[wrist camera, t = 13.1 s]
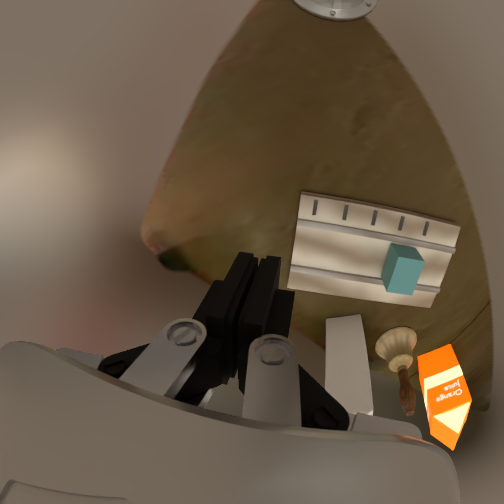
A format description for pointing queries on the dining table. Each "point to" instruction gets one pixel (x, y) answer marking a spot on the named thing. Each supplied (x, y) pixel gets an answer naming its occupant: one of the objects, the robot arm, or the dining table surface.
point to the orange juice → (444, 394)
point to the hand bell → (399, 361)
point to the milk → (348, 364)
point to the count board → (365, 248)
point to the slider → (402, 269)
